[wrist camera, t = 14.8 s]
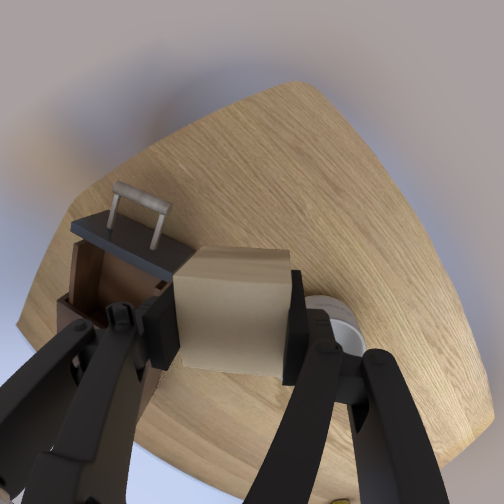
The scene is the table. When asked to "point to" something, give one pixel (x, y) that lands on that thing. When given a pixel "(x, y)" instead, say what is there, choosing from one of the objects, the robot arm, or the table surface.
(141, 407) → the cabinet
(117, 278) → the drawer
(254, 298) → the block
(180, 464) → the table surface
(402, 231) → the table surface
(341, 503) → the apple
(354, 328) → the teacup
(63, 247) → the table surface
